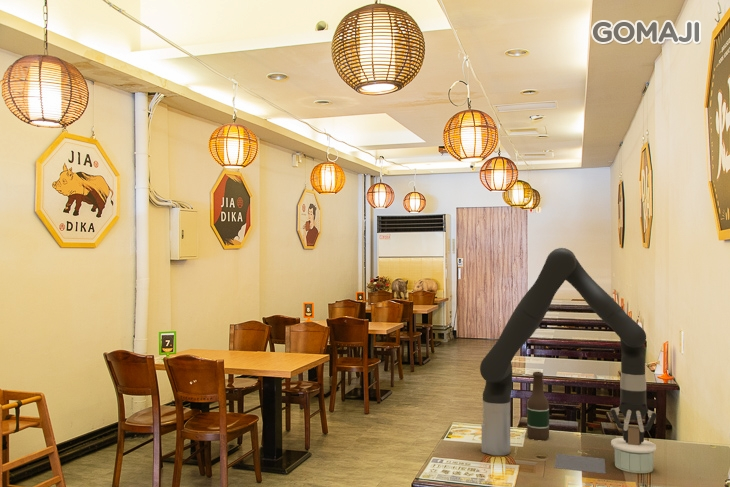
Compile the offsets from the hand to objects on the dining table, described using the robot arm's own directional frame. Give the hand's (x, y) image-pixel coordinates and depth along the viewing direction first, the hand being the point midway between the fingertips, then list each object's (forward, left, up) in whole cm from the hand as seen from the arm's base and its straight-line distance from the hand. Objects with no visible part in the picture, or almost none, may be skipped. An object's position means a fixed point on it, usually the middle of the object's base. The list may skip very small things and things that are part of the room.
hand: (633, 442), depth 198 cm
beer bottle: (-31, +24, -8) cm, 40 cm away
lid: (0, 0, -1) cm, 1 cm away
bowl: (0, 0, -8) cm, 8 cm away
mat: (-16, -2, -8) cm, 18 cm away
